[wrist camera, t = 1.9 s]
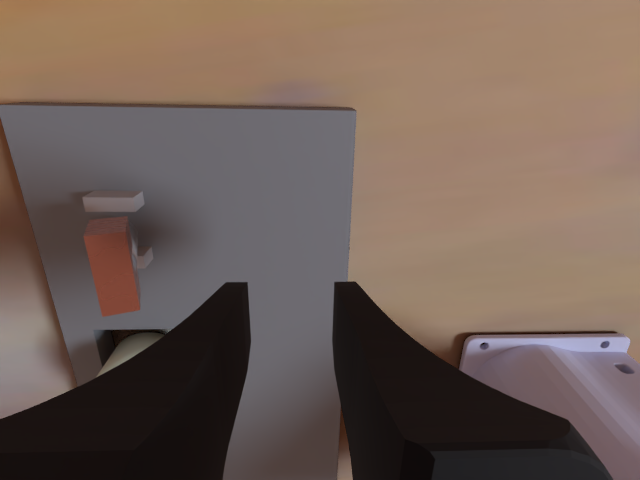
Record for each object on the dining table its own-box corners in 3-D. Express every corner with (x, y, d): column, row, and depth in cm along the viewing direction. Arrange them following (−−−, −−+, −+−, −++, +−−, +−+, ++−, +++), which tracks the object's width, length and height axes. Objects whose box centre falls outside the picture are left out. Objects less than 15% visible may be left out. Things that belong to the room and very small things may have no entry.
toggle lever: (132, 194, 17) (128, 231, 13) (143, 259, 18) (143, 309, 14) (94, 198, 16) (79, 236, 12) (108, 263, 17) (99, 317, 13)
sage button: (189, 331, 20) (173, 369, 17) (198, 395, 22) (184, 438, 19) (105, 332, 20) (76, 371, 17) (120, 396, 21) (95, 440, 19)
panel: (352, 107, 17) (359, 113, 15) (334, 479, 27) (337, 518, 24) (22, 102, 17) (-24, 106, 14) (122, 485, 26) (105, 525, 24)
